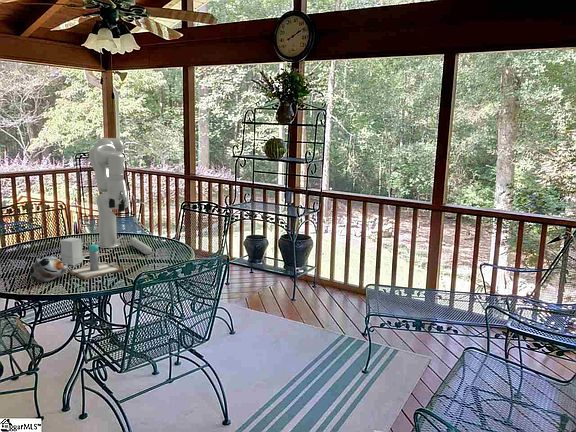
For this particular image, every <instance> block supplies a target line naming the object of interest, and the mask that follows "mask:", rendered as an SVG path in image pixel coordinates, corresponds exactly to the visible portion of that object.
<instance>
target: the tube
mask: <svg viewBox="0 0 576 432" xmlns="http://www.w3.org/2000/svg"><path fill="white" fill-rule="evenodd" d="M128 245H131V247H134V248H135V249H137V250H138V251H139V252H140V253H142V254H144V255H145V256H148V255H150V254H152V252H153V250H152V247H150V246H148V245H147V244H145V243H144V242H143V241H141V240H139V239H138V238H136V237H130V239H129V241H128Z"/></svg>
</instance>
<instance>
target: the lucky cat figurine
mask: <svg viewBox="0 0 576 432" xmlns="http://www.w3.org/2000/svg"><path fill="white" fill-rule="evenodd" d="M68 267H69V265H68V264H66V263H63V262H62V259H59V258H57V257H55V256H45V257H42V258H41V259H40V258H39V257H38V258H36V259H35V262H34V263H33V264H32V265H31V266H30V270H29V272H30V277H31V278H30V279H33V280H35V281H36V282H38V283H39V282H41V283H42V282H43V283H48V282H50V281H53V280H54V279H56V278H59V277H62V276H64V273H65V272H66V271H67V269H68Z"/></svg>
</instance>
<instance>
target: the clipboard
mask: <svg viewBox="0 0 576 432" xmlns="http://www.w3.org/2000/svg"><path fill="white" fill-rule="evenodd" d="M115 272H119V273H122V272H125V271H124V269H123V268H121V267H119V266H118V265H117V264H115V263H112V262H111V263H109V262H103V263H99V270H98V271H90V265H88V266H84V267H78V268H75V269H71V270H70V269H69V270H68V272H67V273H68V274H70V275H73V276H75V277H77V278H80V279H82V280H84V281H87V280H88V279H89V280H92V279H91V278H93V279H95V278H94V277H97V278H99V277H98V276H101V277H103V276H102V275H106V274H109V273H114V274H116V273H115ZM106 276H107V275H106Z"/></svg>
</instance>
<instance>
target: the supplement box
mask: <svg viewBox="0 0 576 432" xmlns="http://www.w3.org/2000/svg"><path fill="white" fill-rule="evenodd" d="M82 244H83V242H82V238H76V237H68V238H64V239H61V240H60V253H61V254H60V255H61V261H62V262H63V263H66V264H68V266H76V265H79V264H81V263H83V259H84V258H83V245H82Z"/></svg>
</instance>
